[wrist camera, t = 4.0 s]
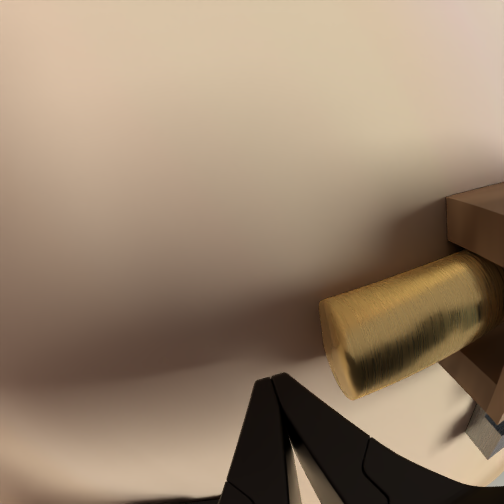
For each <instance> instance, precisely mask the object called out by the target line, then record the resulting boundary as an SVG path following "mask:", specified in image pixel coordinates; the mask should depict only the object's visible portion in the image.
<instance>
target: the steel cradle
mask: <svg viewBox="0 0 504 504" xmlns="http://www.w3.org/2000/svg"><path fill="white" fill-rule="evenodd" d="M465 433H466V434H467V435H468V436H469V437H470V439H471V440H472V441H473V442H474V444H475V445H476V446H477V447H478V449H479V450H480V451H481V452H482V454H483V455H484V456H485V457H486V459H487V460H488V459H489V458H491V457H492V456H493V455H495V454H496V453H497V452H498V451H500V450H501V449H502V448H503V447H504V420H503V421H502V422H501V423H500V424H498V425H497V424H496V423H495V422H494V421H493V420H492V419H491V418H490V416H489V415H488V414H487V413H486V412H485V411H484V410H483V409H482V408H481V407H480V406H479V405H478V404H477V405H476V407H475V410H474V412H473V415H472V417H471V420H470V422H469V425H468V427H467V429H466V431H465Z"/></svg>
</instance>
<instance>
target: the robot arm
mask: <svg viewBox="0 0 504 504" xmlns="http://www.w3.org/2000/svg"><path fill="white" fill-rule="evenodd" d="M289 438H290V439H289ZM290 441H291V442H290ZM291 444H292V446H291ZM292 447H293V449H294V451H295V453H296V456H297V458H298V460H299V462H300V464H301V466H302V468H303V469H304V471H305V473H306V475H307V477H308V479H309V481H310V483H311V485H312V487H313V489H314V491H315V493H316V495H317V497H318V498H319V500H320V502H321V504H504V486H501V487H500V486H499V487H478V486H471V485H466V484H463V483H460V482H457V481H454V480H452V479H450V478H447V477H445V476H442V475H440V474H438V473H436V472H433V471H431V470H429V469H427V468H424V467H422V466H420V465H418V464H416V463H414V462H412V461H410V460H408V459H406V458H404V457H402V456H400V455H398V454H397V453H395V452H393V451H392V450H390V449H389V448H387V447H385V446H384V445H382V444H381V443H379V442H378V441H377V440H375V439H374V438H372V437H371V438H370V436H369V435H368V434H366V433H365V432H364V431H362V430H361V429H359V428H358V427H357V426H355V425H354V424H353V423H351V422H350V421H348V420H347V419H346V418H344V417H343V416H342V415H340V414H339V413H338V412H336V411H335V410H334V409H332V408H331V407H330V406H328V405H327V404H326V403H324V402H323V401H322V400H320V399H319V398H318V397H317V396H315V395H314V394H313V393H311V392H310V391H309V390H308V389H306V388H305V387H304V386H302V385H301V384H300V383H299V382H297V381H296V380H295V379H294V378H292V377H291V376H290V375H289V374H287V373H285V372H284V373H280V374H277V375H273V376H272V377H271V378H270V377H267V378H263V379H260V380H257V381H255V384H254V387H253V391H252V394H251V398H250V401H249V405H248V408H247V412H246V415H245V419H244V422H243V426H242V429H241V433H240V436H239V439H238V443H237V446H236V449H235V453H234V456H233V459H232V463H231V466H230V469H229V472H228V476H227V479H226V480H227V481H226V482H225V485H224V488H223V491H222V494H221V497H220V499H217V500H210V501H203V502H195V503H185V504H302V502H301V496H300V490H299V484H298V478H297V472H296V466H295V460H294V455H293V450H292Z"/></svg>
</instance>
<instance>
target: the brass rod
mask: <svg viewBox="0 0 504 504" xmlns="http://www.w3.org/2000/svg"><path fill="white" fill-rule="evenodd" d="M318 308H319V315H320V322H321V330H322V338H323V346H324V350H325V353H326V356H327V359H328V362H329V365H330V368H331V370H332V372H333V375H334V377H335V379H336V381H337V383H338V385H339V387H340V389H341V390H342V392H343V393H344V394H345V396H346V397H347V398H349V399H350V400H355V399H358V398H360V397H363V396H365V395H368V394H370V393H373V392H375V391H377V390H380V389H382V388H384V387H387V386H389V385H391V384H393V383H396V382H398V381H400V380H402V379H404V378H406V377H409V376H411V375H413V374H415V373H417V372H419V371H421V370H423V369H425V368H427V367H429V366H431V365H433V364H435V363H437V362H438V361H440V360H442V359H444V358H446V357H448V356H449V355H451V354H453V353H455V352H457V351H458V350H460V349H462V348H464V347H465V346H467V345H469V344H470V343H472V342H474V341H475V340H477V339H479V338H480V337H482V336H484V335H485V334H487V333H488V332H490V331H491V330H493V329H494V328H496V327H498V326H499V325H501V324H502V323H504V268H503V267H501V266H500V265H498V264H496V263H494V262H492V261H490V260H488V259H486V258H484V257H482V256H480V255H478V254H476V253H474V252H472V251H470V250H468V249H464V250H462V251H459V252H457V253H454V254H452V255H449V256H447V257H444V258H441V259H439V260H436V261H434V262H431V263H428V264H426V265H423V266H420V267H418V268H415V269H412V270H409V271H407V272H404V273H401V274H398V275H396V276H393V277H390V278H387V279H384V280H381V281H378V282H375V283H373V284H370V285H367V286H364V287H361V288H358V289H355V290H352V291H349V292H346V293H342V294H339V295H336V296H333V297H330V298H327V299H324V300H321V301H320V303H319V307H318Z"/></svg>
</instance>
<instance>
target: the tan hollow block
mask: <svg viewBox="0 0 504 504" xmlns="http://www.w3.org/2000/svg"><path fill="white" fill-rule="evenodd" d="M446 205H447V240H449V241H451V242H453V243H455V244H457V245H459V246H461V247H463V248H466V249H468V250H470V251H472V252H474V253H476V254H478V255H480V256H482V257H484V258H486V259H488V260H490V261H492V262H494V263H496V264H498V265H500V266H501V267H503V268H504V182H502V183H498V184H494V185H490V186H487V187H483V188H479V189H475V190H471V191H467V192H463V193H459V194H455V195H451V196H448V197H446ZM438 363H439V364H440V365H441V366H442V367H443V368H444V369H445V370H446V371H447V372H448V373H449V374H450V375H451V376H452V377H453V378H454V379H455V380H456V382H457V383H458V384H459V385H460V386H461V387H462V388H463V389H464V390H465V391H466V392H467V393H468V394H469V395H470V396H471V397H472V398H473V399H474V400H475V401H476V402H477V404H478V405H479V406H480V407H481V408H482V409H483V410H484V411H485V412H486V413H487V414H488V415H489V416H490V418H491V419H492V420H493V421H494V422H495V423H496V424H497V425H498V424H500V423H501V422H502V421H503V420H504V323H502V324H501V325H499V326H498V327H496V328H494V329H493V330H491V331H490V332H488V333H487V334H485V335H484V336H482V337H480V338H479V339H477V340H475V341H474V342H472V343H470V344H469V345H467V346H465V347H464V348H462V349H460V350H458V351H457V352H455V353H453V354H451V355H449V356H448V357H446V358H444V359H442V360H440V361H438Z"/></svg>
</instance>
